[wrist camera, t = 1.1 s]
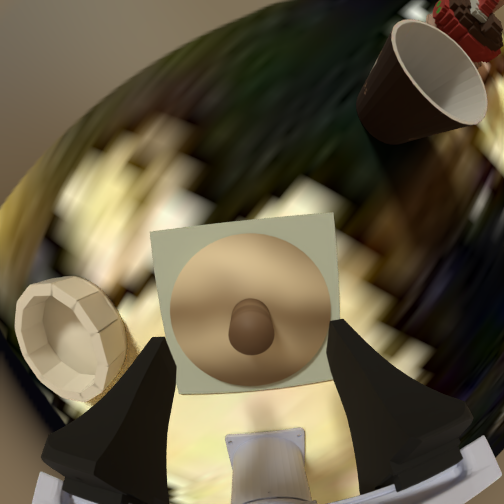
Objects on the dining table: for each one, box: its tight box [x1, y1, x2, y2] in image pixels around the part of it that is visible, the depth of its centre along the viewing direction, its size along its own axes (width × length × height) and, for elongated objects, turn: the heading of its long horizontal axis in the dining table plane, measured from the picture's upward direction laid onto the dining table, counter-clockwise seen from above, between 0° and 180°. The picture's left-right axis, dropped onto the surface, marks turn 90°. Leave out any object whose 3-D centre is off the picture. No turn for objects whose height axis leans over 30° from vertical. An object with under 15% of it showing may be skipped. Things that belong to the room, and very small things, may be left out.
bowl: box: [15, 276, 127, 402], centre depth 20 cm, size 11×11×4 cm
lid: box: [170, 233, 331, 386], centre depth 20 cm, size 13×13×5 cm
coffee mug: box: [356, 19, 488, 145], centre depth 16 cm, size 12×9×10 cm
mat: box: [150, 212, 340, 394], centre depth 23 cm, size 15×15×1 cm
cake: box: [426, 0, 504, 69], centre depth 12 cm, size 11×9×18 cm
